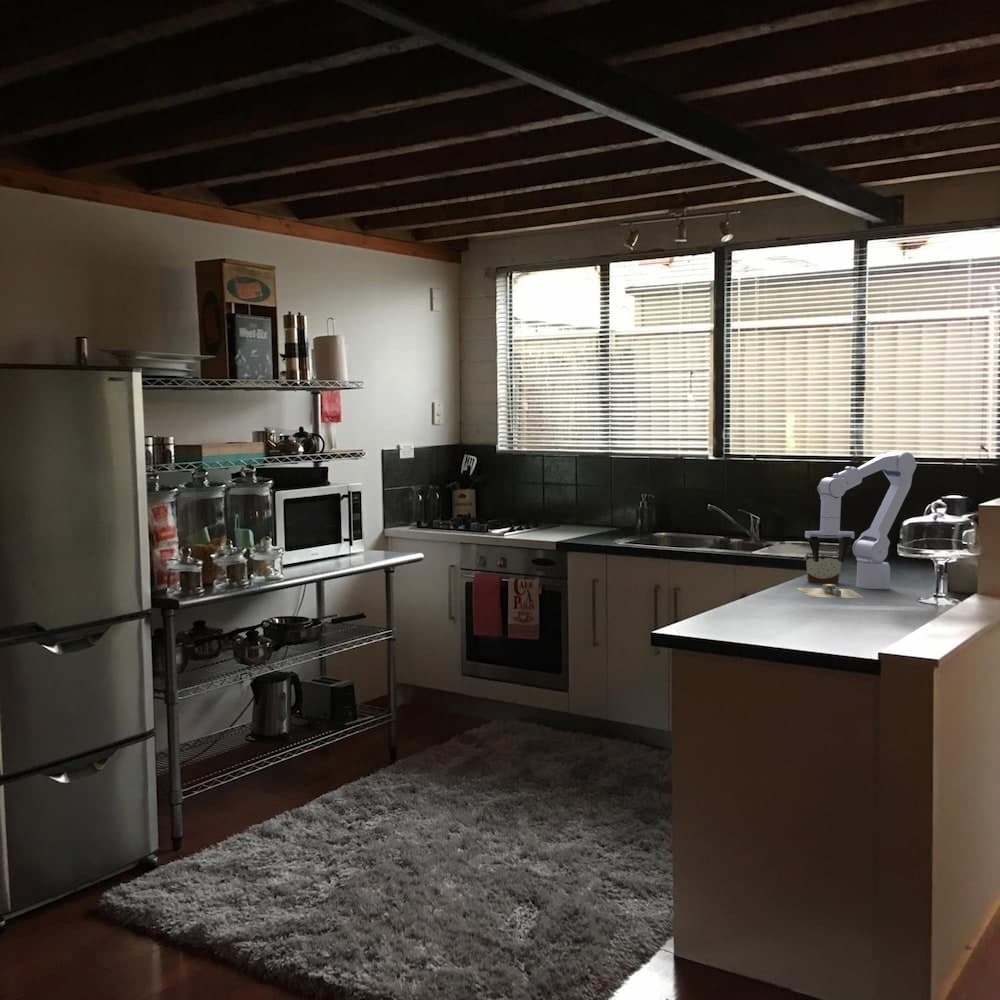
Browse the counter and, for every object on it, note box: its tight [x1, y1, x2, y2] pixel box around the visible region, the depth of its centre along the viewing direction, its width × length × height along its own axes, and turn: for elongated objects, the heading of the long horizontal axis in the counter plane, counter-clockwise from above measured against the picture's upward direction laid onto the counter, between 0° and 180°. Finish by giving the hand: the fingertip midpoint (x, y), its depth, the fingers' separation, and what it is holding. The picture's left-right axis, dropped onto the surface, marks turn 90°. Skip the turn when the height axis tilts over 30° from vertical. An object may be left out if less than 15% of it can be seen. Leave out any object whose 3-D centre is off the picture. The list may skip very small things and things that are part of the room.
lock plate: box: [796, 583, 865, 599], centre depth 322 cm, size 16×16×3 cm
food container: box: [803, 551, 843, 584], centre depth 345 cm, size 12×6×10 cm, turn 84°
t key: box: [821, 583, 841, 596], centre depth 322 cm, size 12×4×2 cm, turn 2°
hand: (828, 561), depth 328 cm, fingers open, 7 cm apart
